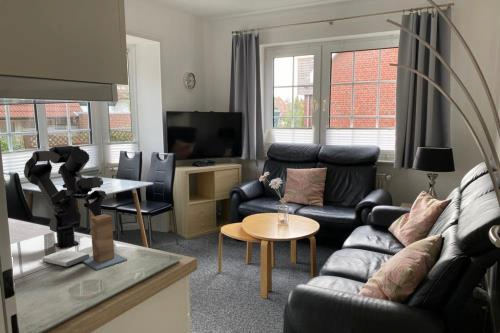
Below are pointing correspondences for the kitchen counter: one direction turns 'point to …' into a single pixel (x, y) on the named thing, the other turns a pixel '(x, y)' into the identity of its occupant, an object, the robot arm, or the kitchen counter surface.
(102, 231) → the walnut block
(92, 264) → the rubber mat
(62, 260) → the external hard drive
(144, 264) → the kitchen counter surface
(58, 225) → the robot arm
